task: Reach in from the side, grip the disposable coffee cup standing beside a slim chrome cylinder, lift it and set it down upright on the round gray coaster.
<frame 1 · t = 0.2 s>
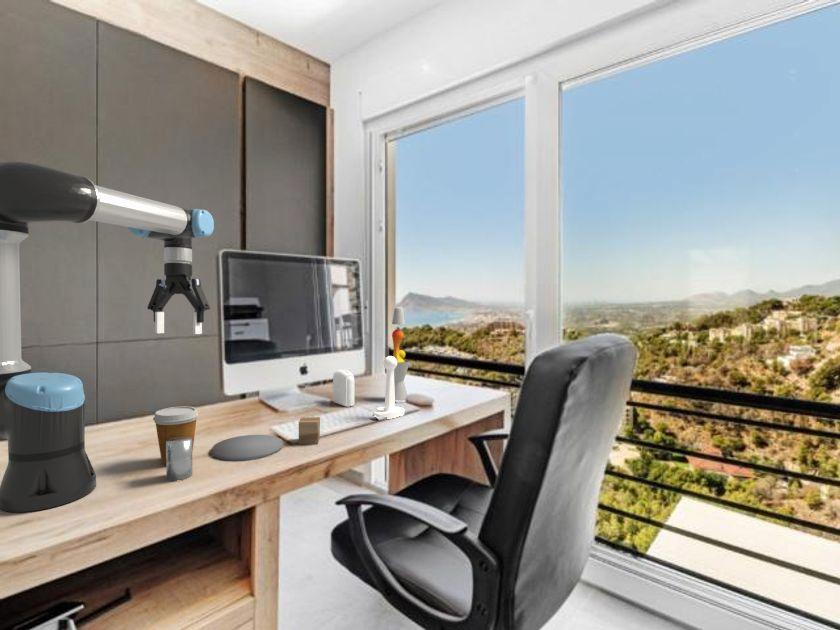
hand: (178, 333, 139), 27 cm above the table, tool pointing down, fingers open, 13 cm apart
round gray coaster: (248, 448, 118), on the table
lava lamp: (397, 401, 173), on the table
walnut block: (309, 441, 125), on the table
chrome cylinder: (179, 476, 100), on the table
photo printer: (343, 404, 167), on the table
joystick: (386, 416, 151), on the table
disposable coffee cup: (176, 461, 109), on the table
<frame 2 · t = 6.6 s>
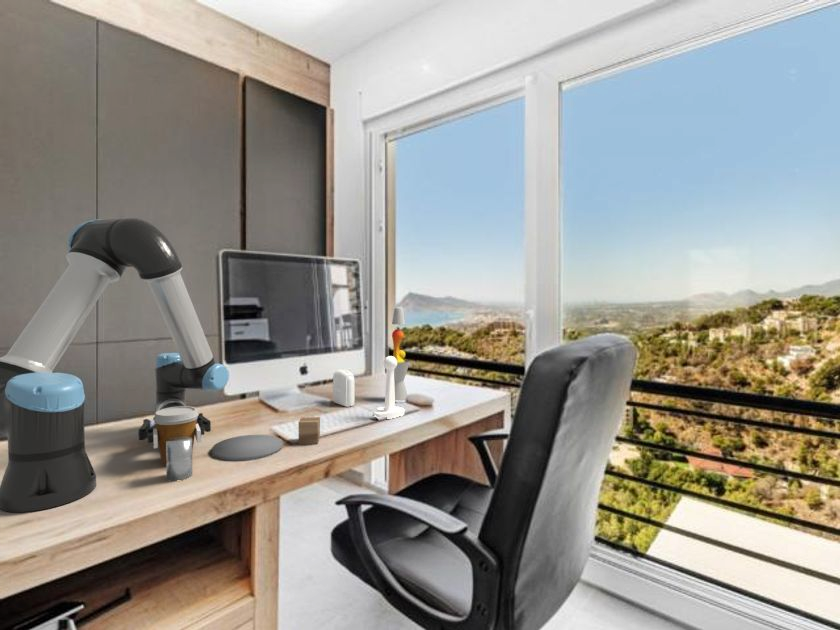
hand: (177, 439, 105), 7 cm above the table, tool horizontal, fingers closed on disposable coffee cup, 8 cm apart
disposable coffee cup: (177, 461, 109), on the table, touching gripper
everything else where it was.
when the fingers open (9 cm above the table, at t = 12.2 s): disposable coffee cup drops 1 cm, resting on round gray coaster.
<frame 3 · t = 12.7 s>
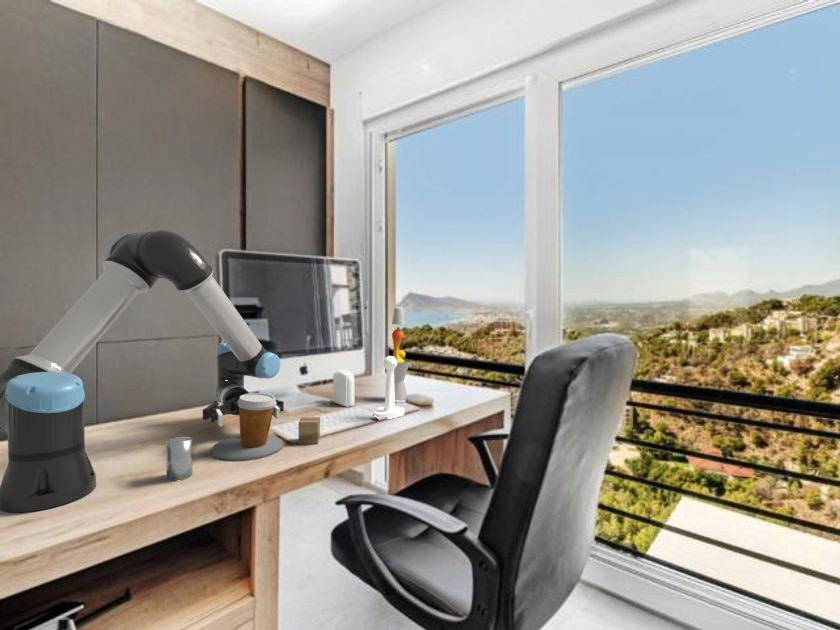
hand: (250, 417, 115), 9 cm above the table, tool horizontal, fingers open, 13 cm apart
disposable coffee cup: (253, 443, 119), point 1 cm above the table, touching round gray coaster, gripper
everything else where it was.
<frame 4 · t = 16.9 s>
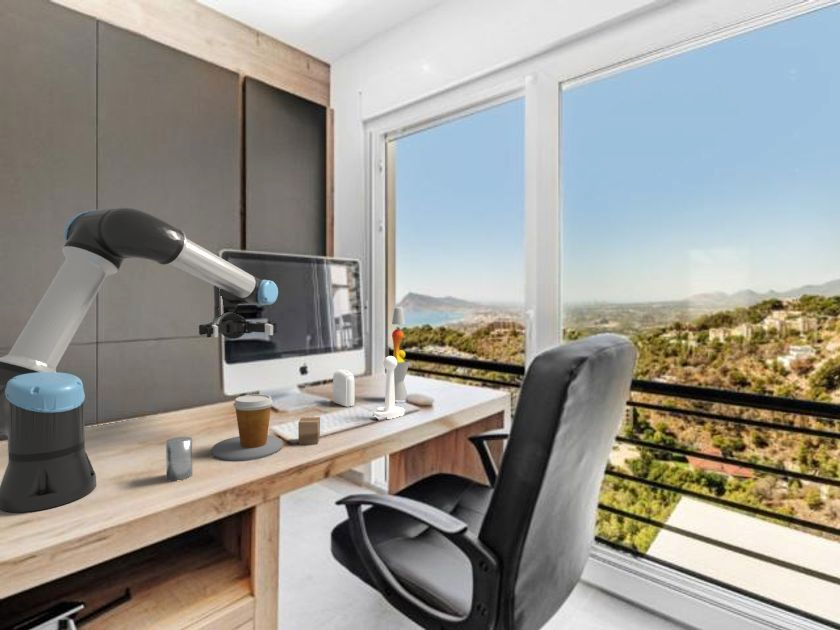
hand: (244, 331, 120), 30 cm above the table, tool horizontal, fingers open, 13 cm apart
disposable coffee cup: (253, 444, 119), point 1 cm above the table, touching round gray coaster
everything else where it was.
at the end: disposable coffee cup inside the target area on the round gray coaster (1.3 cm from its centre), point 0.8 cm above the round gray coaster's base; disposable coffee cup tilted 0° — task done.
